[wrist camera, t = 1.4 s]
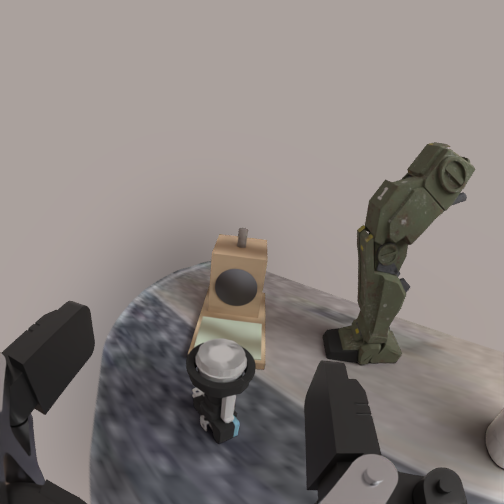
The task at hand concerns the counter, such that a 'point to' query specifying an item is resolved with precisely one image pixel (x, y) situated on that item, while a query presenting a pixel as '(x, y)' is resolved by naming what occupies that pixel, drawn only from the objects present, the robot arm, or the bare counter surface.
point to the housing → (236, 295)
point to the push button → (219, 383)
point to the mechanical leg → (395, 250)
